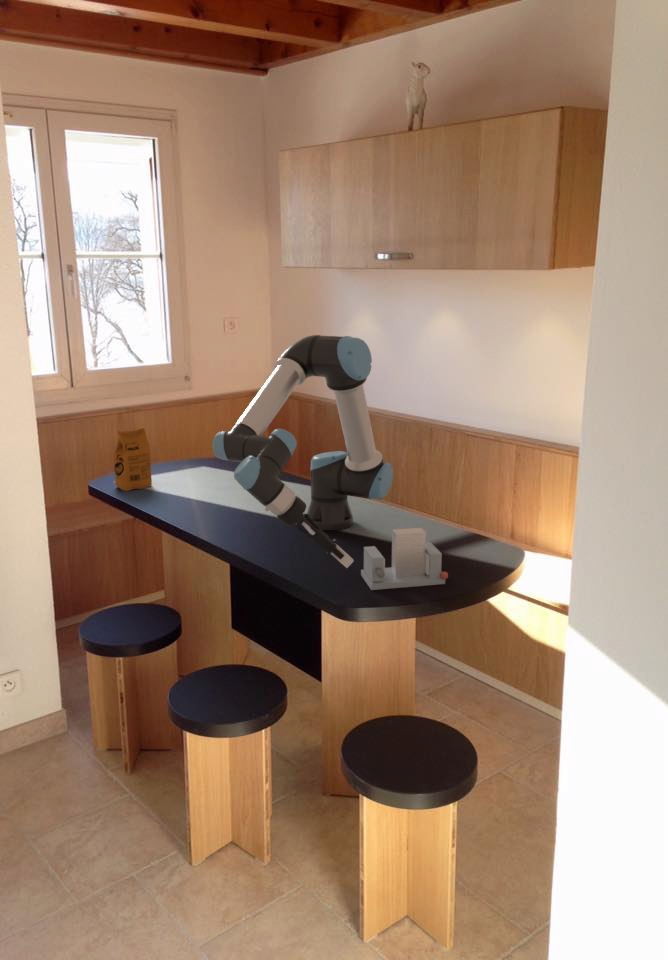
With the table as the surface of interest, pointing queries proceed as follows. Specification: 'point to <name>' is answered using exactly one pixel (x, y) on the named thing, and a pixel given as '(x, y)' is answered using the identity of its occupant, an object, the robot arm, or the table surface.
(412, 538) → the steel block
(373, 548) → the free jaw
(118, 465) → the coffee package
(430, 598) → the table surface
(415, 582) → the vise
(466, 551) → the table surface
